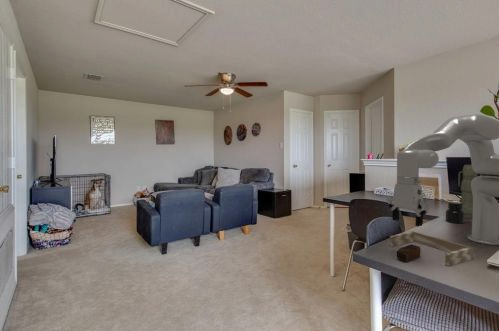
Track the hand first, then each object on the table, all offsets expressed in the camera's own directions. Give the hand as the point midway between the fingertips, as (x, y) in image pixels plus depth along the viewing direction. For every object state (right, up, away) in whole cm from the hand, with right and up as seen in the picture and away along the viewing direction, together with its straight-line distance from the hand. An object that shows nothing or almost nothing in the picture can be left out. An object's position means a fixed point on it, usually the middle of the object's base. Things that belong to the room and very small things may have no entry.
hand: (406, 222), depth 105 cm
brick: (+1, -15, 0) cm, 15 cm away
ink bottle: (+63, -12, +55) cm, 84 cm away
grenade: (+82, -11, +67) cm, 106 cm away
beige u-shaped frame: (+13, -14, +7) cm, 21 cm away
